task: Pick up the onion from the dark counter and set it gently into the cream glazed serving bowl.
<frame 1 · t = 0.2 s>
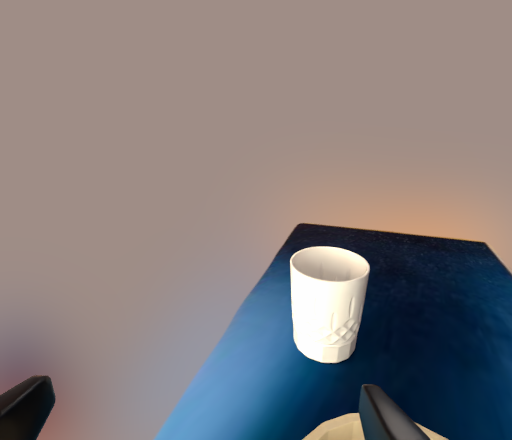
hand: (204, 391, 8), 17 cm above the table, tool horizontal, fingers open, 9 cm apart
white cup: (323, 342, 33), on the table
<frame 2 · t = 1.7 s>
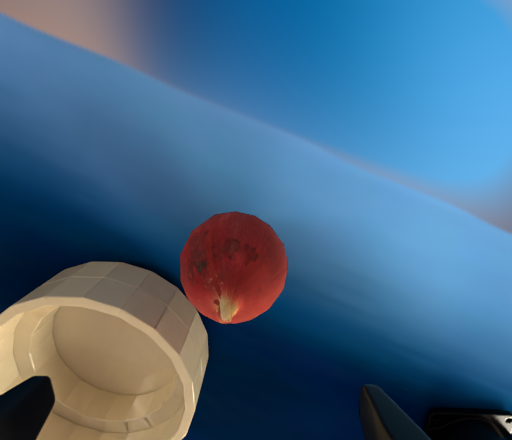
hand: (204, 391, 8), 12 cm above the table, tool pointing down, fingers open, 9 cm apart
bowl: (123, 337, 22), on the table
onion: (240, 240, 20), on the table
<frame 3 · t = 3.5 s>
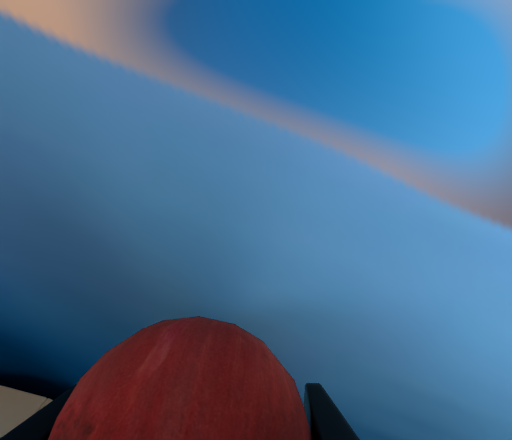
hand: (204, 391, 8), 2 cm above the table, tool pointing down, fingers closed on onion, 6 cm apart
onion: (214, 338, 10), on the table, touching gripper
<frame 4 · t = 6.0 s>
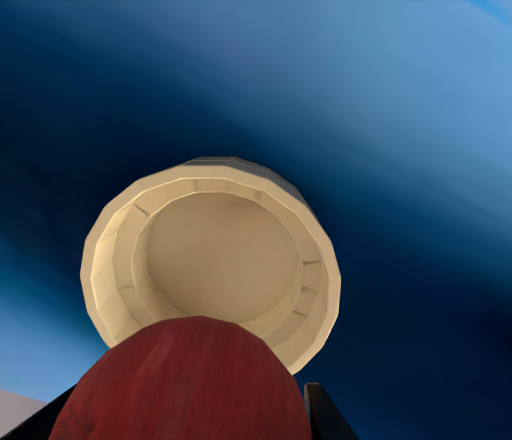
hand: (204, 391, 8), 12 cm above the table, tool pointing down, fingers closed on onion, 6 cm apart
bowl: (223, 255, 20), on the table
onion: (215, 337, 10), point 9 cm above the table, touching gripper
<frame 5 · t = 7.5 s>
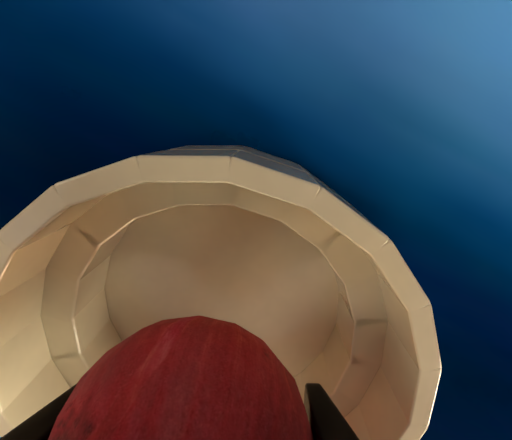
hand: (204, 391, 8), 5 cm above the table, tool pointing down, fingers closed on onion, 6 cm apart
bowl: (223, 296, 13), on the table
onion: (215, 337, 10), point 3 cm above the table, touching gripper
when the fingers open (3 cm above the table, at t = 8.7 s): onion stays where it is, resting on bowl.
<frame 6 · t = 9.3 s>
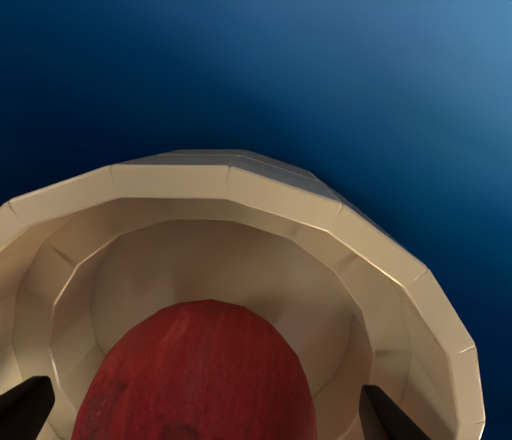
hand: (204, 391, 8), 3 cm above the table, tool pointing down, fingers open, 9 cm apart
bowl: (222, 317, 12), on the table
onion: (222, 323, 11), resting on bowl
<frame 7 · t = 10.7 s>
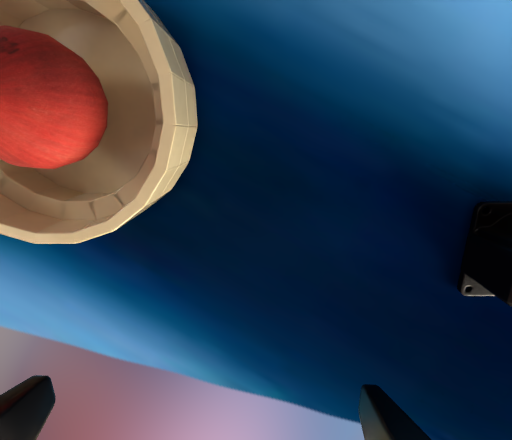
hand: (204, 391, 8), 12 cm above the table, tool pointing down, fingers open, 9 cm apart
bowl: (88, 109, 17), on the table
onion: (85, 109, 17), resting on bowl
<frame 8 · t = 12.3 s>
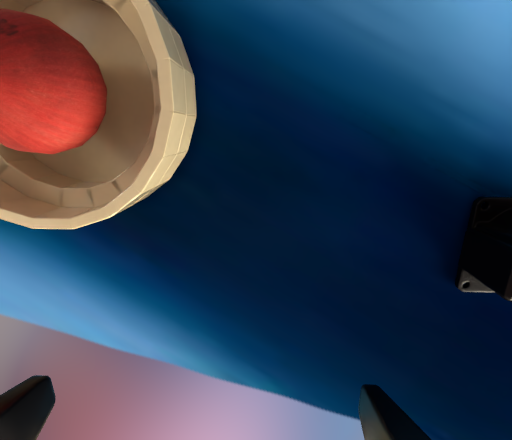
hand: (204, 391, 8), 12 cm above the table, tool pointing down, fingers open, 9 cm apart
bowl: (88, 98, 17), on the table
onion: (85, 97, 17), resting on bowl
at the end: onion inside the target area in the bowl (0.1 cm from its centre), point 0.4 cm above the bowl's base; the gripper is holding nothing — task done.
